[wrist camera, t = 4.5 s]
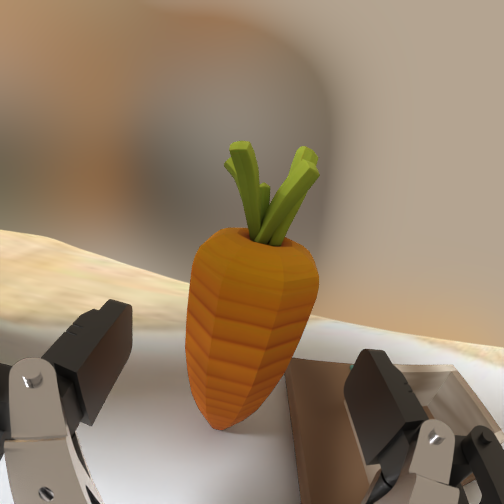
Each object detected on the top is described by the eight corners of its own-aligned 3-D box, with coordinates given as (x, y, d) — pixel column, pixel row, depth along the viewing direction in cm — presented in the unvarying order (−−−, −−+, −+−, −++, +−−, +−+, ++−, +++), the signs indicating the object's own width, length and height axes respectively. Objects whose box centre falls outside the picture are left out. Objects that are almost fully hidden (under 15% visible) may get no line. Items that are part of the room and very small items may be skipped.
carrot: (179, 462, 11) (235, 114, 6) (171, 395, 15) (210, 128, 11) (270, 455, 12) (387, 164, 8) (247, 395, 17) (315, 154, 12)
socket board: (304, 527, 8) (349, 494, 6) (283, 368, 20) (302, 318, 19) (481, 476, 9) (524, 433, 7) (421, 376, 21) (444, 335, 20)
